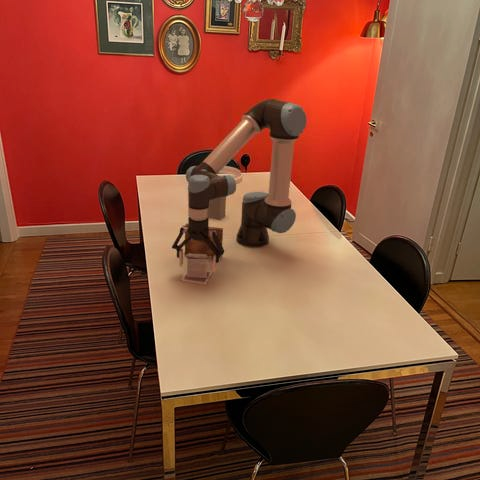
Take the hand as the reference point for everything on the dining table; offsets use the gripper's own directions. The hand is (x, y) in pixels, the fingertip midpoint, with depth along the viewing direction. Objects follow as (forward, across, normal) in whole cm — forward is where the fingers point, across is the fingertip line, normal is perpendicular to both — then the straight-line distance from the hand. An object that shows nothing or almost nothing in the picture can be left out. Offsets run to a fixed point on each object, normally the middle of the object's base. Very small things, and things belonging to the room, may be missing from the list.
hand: (198, 267), depth 183 cm
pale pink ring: (+6, +21, -128) cm, 130 cm away
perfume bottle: (+5, +8, -64) cm, 64 cm away
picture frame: (+4, 0, 0) cm, 4 cm away
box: (+4, 0, 0) cm, 4 cm away
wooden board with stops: (+4, +3, -20) cm, 20 cm away
